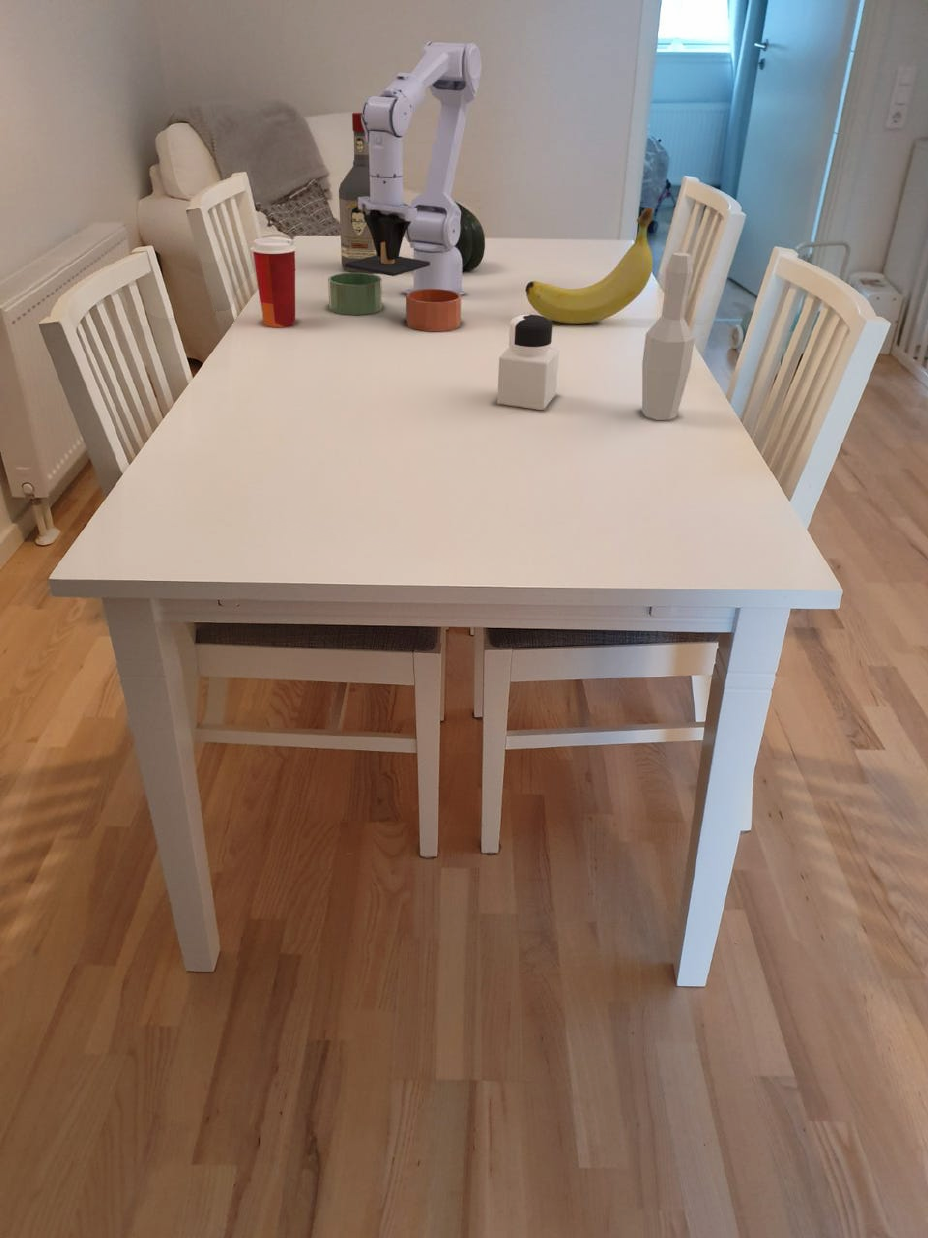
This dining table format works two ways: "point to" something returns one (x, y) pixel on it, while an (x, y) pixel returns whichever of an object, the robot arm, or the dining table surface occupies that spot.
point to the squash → (470, 240)
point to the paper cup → (276, 279)
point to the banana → (598, 287)
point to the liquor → (356, 203)
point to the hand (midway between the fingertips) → (387, 257)
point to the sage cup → (355, 293)
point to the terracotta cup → (433, 309)
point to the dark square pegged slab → (387, 264)
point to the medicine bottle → (528, 364)
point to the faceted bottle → (668, 345)
